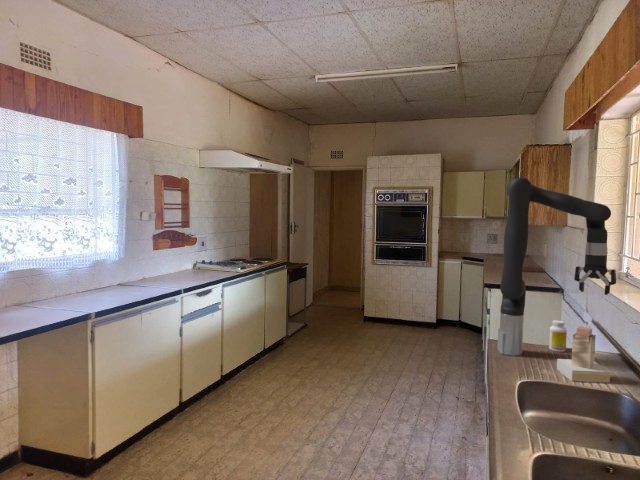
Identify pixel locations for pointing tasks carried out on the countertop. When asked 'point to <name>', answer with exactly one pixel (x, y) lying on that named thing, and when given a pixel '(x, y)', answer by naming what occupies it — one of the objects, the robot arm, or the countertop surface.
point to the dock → (583, 372)
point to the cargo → (584, 332)
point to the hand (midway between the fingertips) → (594, 293)
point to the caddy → (583, 351)
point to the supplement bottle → (557, 336)
